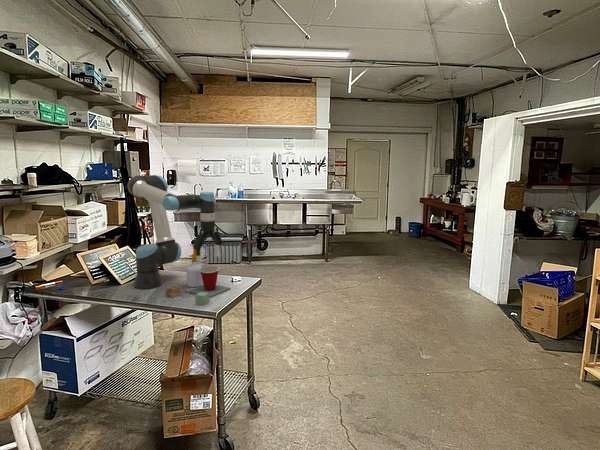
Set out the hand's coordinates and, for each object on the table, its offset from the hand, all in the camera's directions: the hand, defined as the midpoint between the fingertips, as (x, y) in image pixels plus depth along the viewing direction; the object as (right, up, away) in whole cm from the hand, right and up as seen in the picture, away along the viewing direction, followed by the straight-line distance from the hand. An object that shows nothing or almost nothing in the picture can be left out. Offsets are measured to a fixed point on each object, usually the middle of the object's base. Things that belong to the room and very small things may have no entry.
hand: (208, 258), depth 203 cm
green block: (+1, -21, -16) cm, 26 cm away
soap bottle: (-11, -17, +13) cm, 24 cm away
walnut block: (-17, -19, -6) cm, 27 cm away
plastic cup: (0, -17, +3) cm, 18 cm away
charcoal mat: (0, -18, +3) cm, 18 cm away
